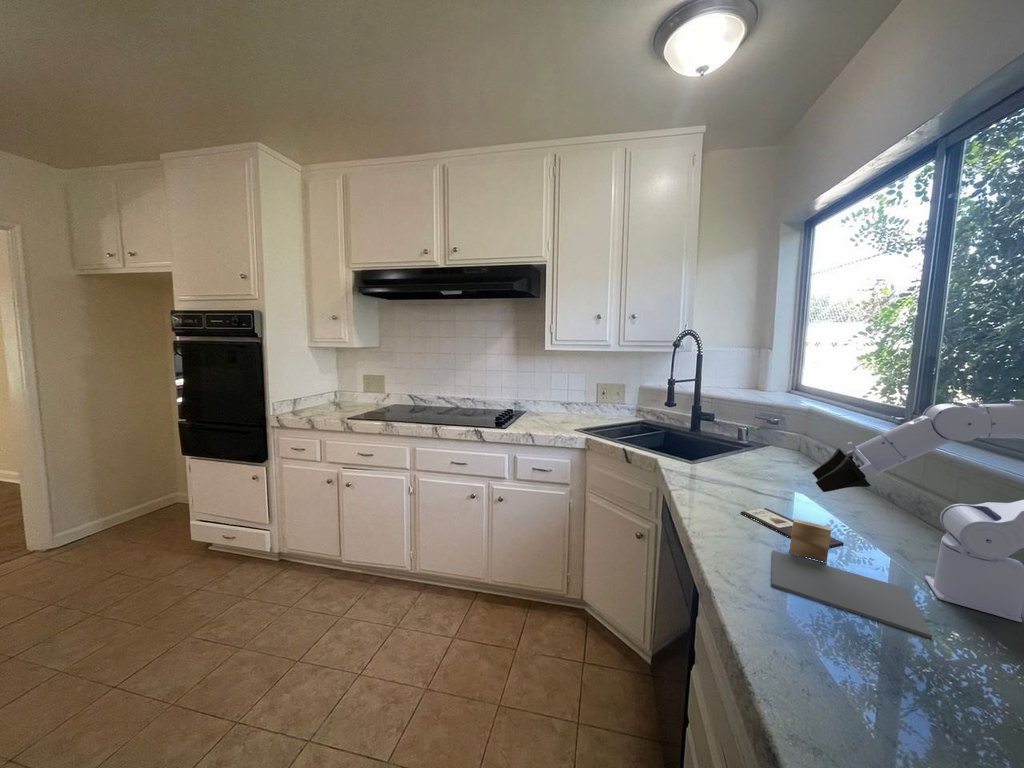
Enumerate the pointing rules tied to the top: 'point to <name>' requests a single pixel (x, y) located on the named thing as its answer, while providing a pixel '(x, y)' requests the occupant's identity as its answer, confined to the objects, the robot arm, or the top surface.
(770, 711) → the top surface
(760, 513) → the chocolate bar
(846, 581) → the rubber mat
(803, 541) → the oak tile
